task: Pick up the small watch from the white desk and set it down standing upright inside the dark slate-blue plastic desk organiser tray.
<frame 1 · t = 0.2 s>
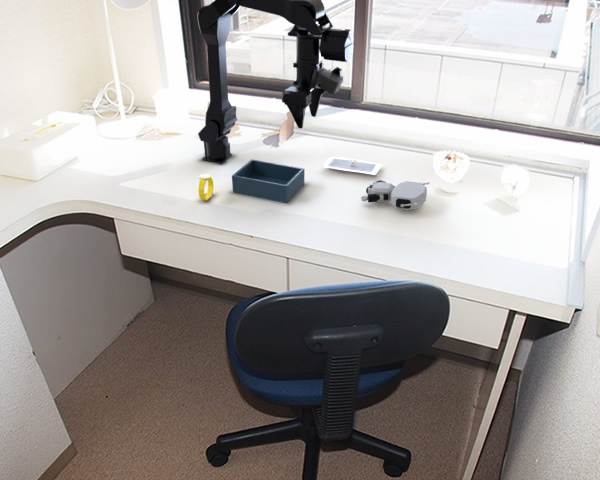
hand: (307, 122, 141), 14 cm above the table, tool pointing down, fingers open, 9 cm apart
touchpad: (352, 169, 153), on the table
organiser tray: (269, 188, 144), on the table
robot toy: (394, 203, 138), on the table
watch: (207, 199, 139), on the table
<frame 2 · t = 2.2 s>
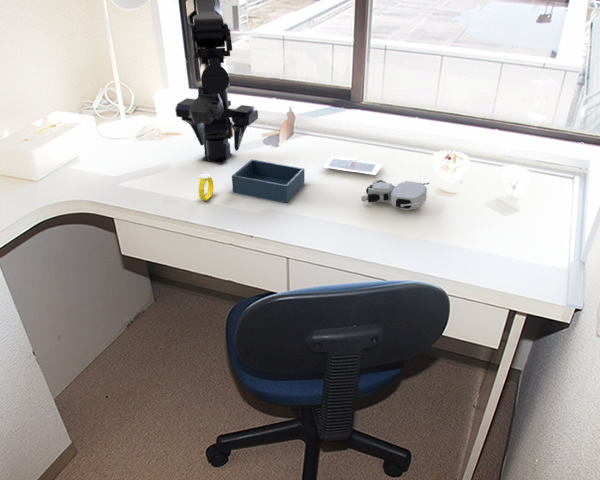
hand: (219, 147, 133), 12 cm above the table, tool pointing down, fingers open, 9 cm apart
nothing on the table moved.
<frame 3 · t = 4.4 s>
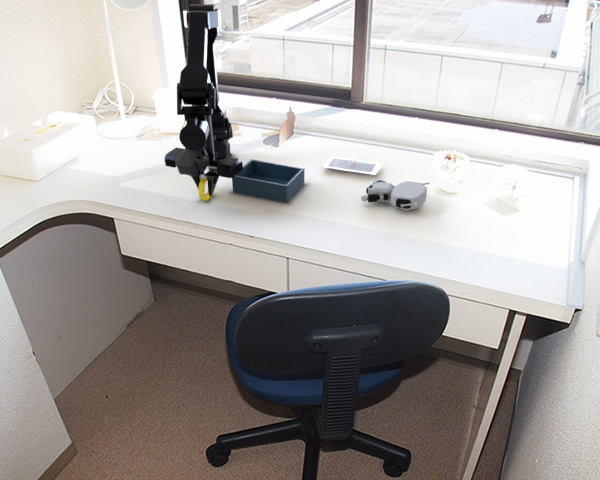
hand: (206, 194, 138), 1 cm above the table, tool pointing down, fingers closed on watch, 2 cm apart
watch: (207, 199, 139), on the table, touching gripper
everything else where it was.
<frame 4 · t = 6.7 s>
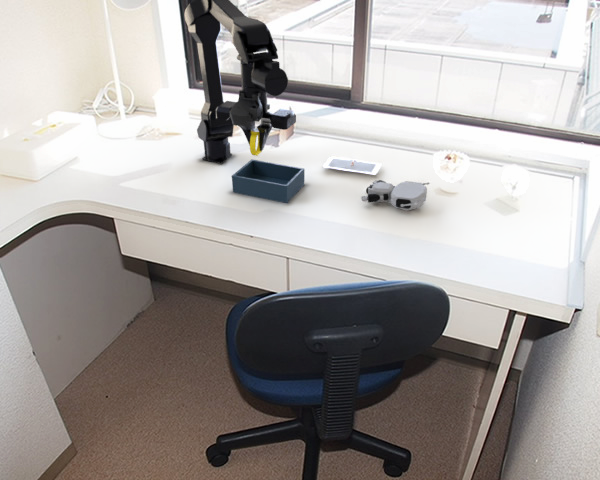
hand: (257, 149, 136), 11 cm above the table, tool pointing down, fingers closed on watch
watch: (257, 154, 137), point 10 cm above the table, touching gripper
everything else where it was.
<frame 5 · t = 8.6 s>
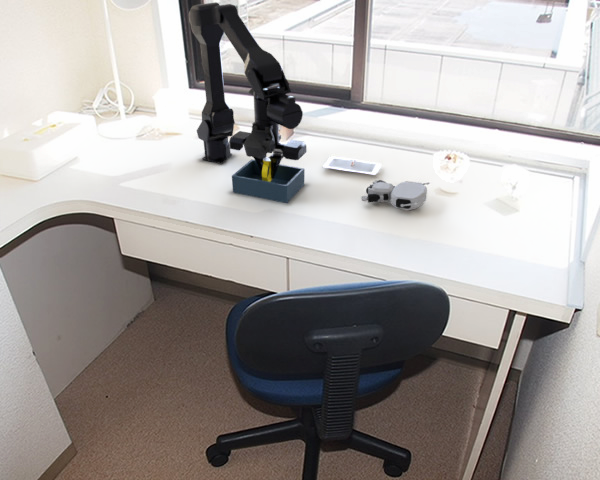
hand: (268, 177, 142), 3 cm above the table, tool pointing down, fingers closed on watch, 2 cm apart
watch: (268, 181, 142), point 2 cm above the table, touching gripper
everything else where it was.
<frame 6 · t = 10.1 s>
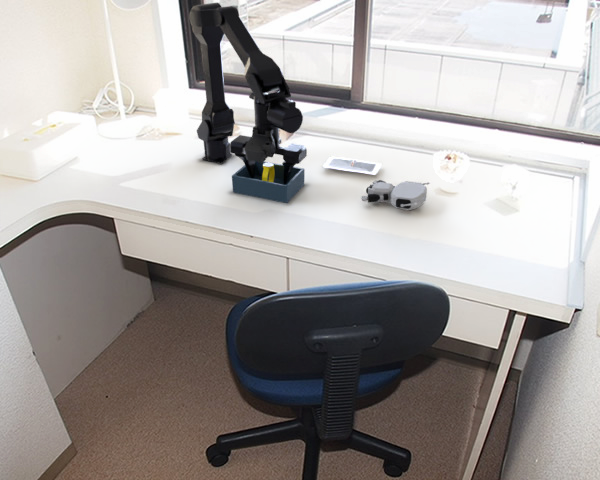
hand: (268, 181, 142), 2 cm above the table, tool pointing down, fingers open, 9 cm apart
watch: (268, 187, 143), resting in organiser tray
everything else where it was.
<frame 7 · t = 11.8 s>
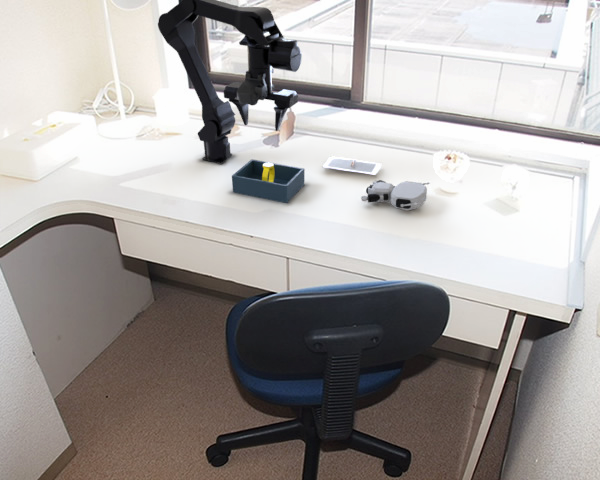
hand: (261, 127, 146), 11 cm above the table, tool pointing down, fingers open, 9 cm apart
nothing on the table moved.
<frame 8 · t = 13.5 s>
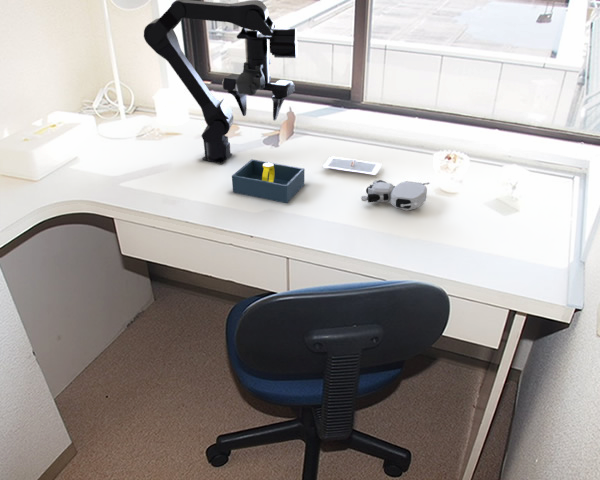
hand: (259, 117, 151), 12 cm above the table, tool pointing down, fingers open, 9 cm apart
nothing on the table moved.
at the end: watch inside the target area in the organiser tray (0.1 cm from its centre), point 0.4 cm above the organiser tray's base; watch tilted 0°; the gripper is holding nothing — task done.
